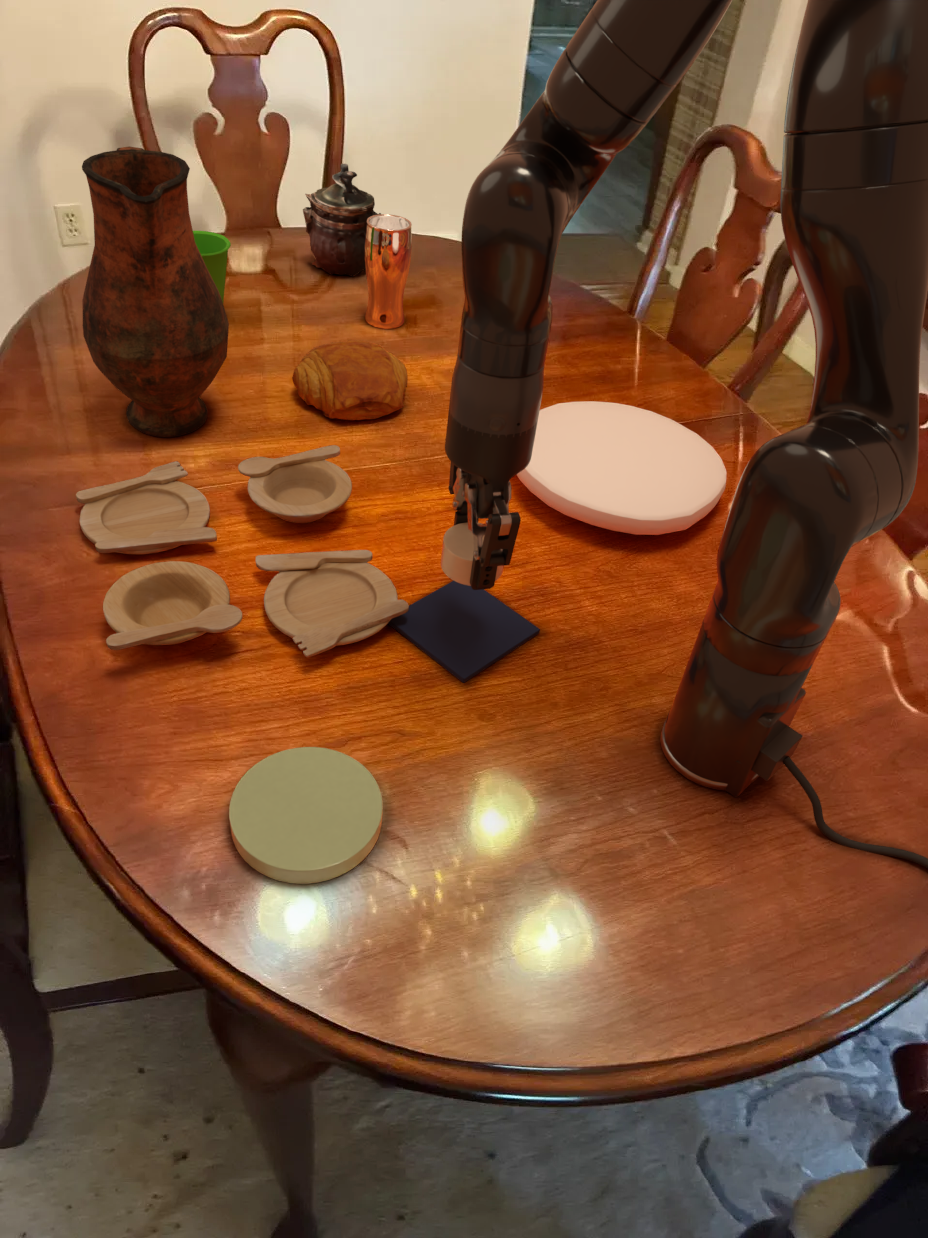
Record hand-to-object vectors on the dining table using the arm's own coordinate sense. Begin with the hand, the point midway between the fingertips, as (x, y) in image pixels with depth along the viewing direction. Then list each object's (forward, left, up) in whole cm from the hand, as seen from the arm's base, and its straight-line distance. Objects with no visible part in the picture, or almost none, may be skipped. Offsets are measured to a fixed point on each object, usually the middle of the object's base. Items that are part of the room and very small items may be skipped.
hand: (472, 563), depth 88 cm
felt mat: (0, 0, -8) cm, 8 cm away
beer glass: (+58, -41, -8) cm, 71 cm away
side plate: (-8, +26, -8) cm, 29 cm away
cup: (+74, -19, -8) cm, 77 cm away
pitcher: (+54, 0, -8) cm, 55 cm away
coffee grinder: (+76, -48, -8) cm, 90 cm away
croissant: (+42, -21, -8) cm, 47 cm away
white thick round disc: (+7, -34, -8) cm, 35 cm away
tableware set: (+22, +12, -8) cm, 26 cm away
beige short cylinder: (0, 0, 0) cm, 0 cm away
